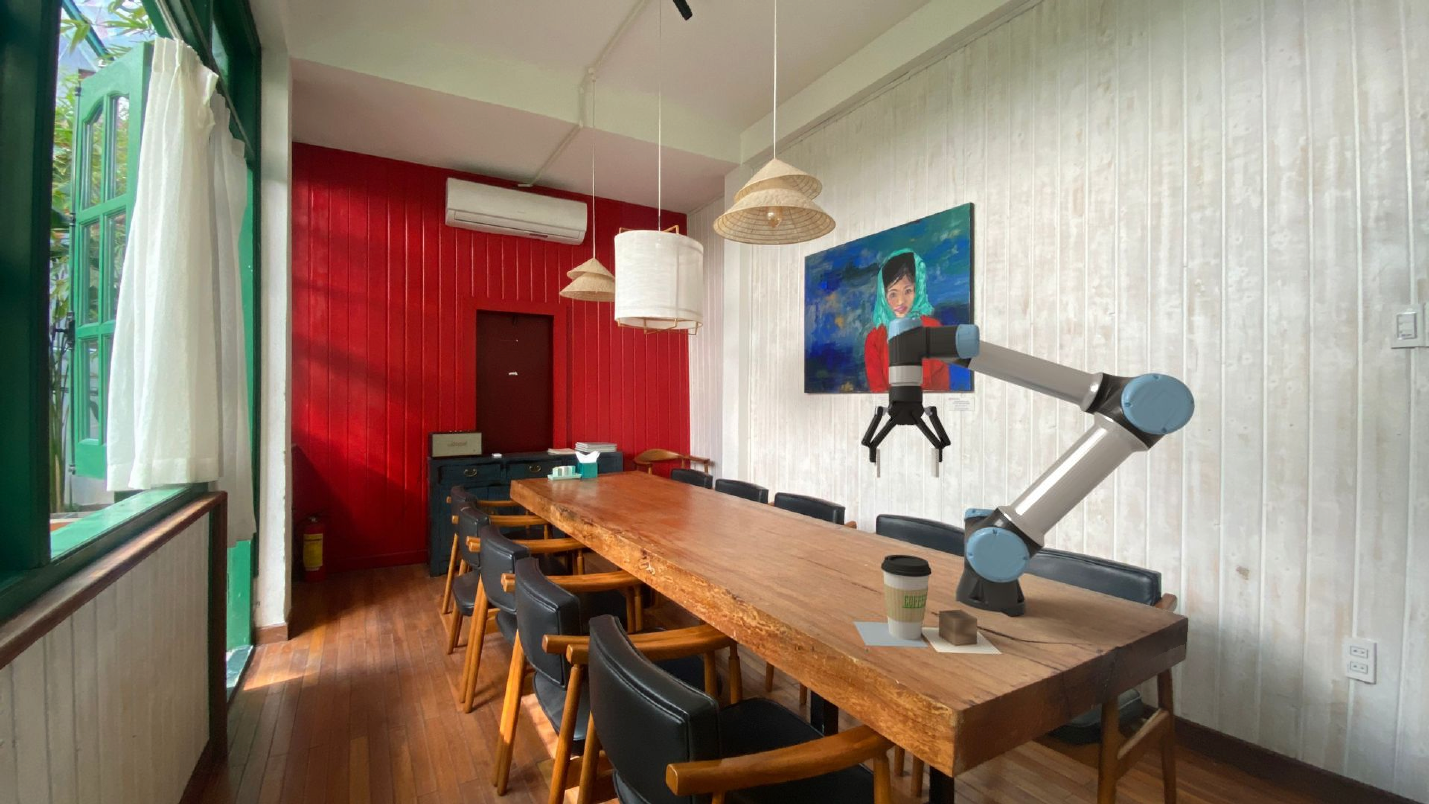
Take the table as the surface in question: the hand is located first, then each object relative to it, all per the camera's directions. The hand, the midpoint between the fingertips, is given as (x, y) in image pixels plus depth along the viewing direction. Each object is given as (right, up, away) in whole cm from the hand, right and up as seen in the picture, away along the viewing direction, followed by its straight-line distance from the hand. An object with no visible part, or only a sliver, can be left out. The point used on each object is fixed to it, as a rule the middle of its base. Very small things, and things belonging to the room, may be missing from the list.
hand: (905, 477), depth 132 cm
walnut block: (+4, -30, -18) cm, 35 cm away
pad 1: (-9, -31, -16) cm, 36 cm away
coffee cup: (-6, -30, -16) cm, 34 cm away
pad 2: (+4, -31, -18) cm, 36 cm away
